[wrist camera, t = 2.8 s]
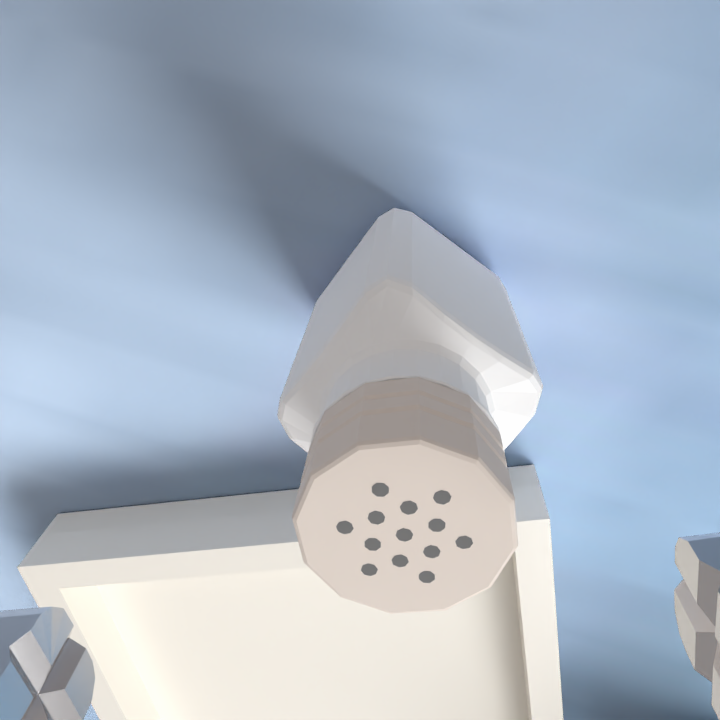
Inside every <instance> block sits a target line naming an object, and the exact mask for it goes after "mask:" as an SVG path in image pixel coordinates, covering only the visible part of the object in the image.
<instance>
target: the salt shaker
mask: <svg viewBox="0 0 720 720" xmlns="http://www.w3.org/2000/svg"><path fill="white" fill-rule="evenodd" d="M542 389H543V384H542V382H541V379H540V377H539V374H538V371H537V369H536V366H535V364H534V361H533V358H532V356H531V353H530V351H529V348H528V345H527V343H526V340H525V338H524V335H523V333H522V330H521V327H520V325H519V322H518V320H517V317H516V314H515V312H514V309H513V307H512V304H511V301H510V299H509V296H508V294H507V291H506V289H505V287H504V286H503V284H502V282H501V280H500V278H499V277H498V276H497V275H496V274H494V273H493V272H492V271H490V270H489V269H488V268H486V267H485V266H484V265H482V264H481V263H480V262H478V261H477V260H476V259H474V258H473V257H472V256H470V255H469V254H467V253H466V252H465V251H463V250H462V249H461V248H459V247H458V246H457V245H455V244H454V243H453V242H451V241H450V240H449V239H447V238H446V237H445V236H443V235H442V234H441V233H439V232H438V231H437V230H435V229H434V228H433V227H431V226H430V225H429V224H427V223H426V222H425V221H423V220H422V219H421V218H419V217H418V216H417V215H415V214H414V213H413V212H410V211H406V210H402V209H398V208H393V209H391V210H389V211H388V212H386V213H384V214H383V215H381V216H379V217H378V218H377V220H376V221H375V222H374V224H373V225H372V226H371V228H370V229H369V230H368V232H367V233H366V234H365V236H364V237H363V239H362V240H361V241H360V243H359V244H358V245H357V247H356V248H355V249H354V251H353V252H352V253H351V255H350V256H349V258H348V259H347V260H346V262H345V263H344V264H343V266H342V267H341V268H340V270H339V271H338V272H337V274H336V275H335V277H334V278H333V279H332V281H331V282H330V283H329V285H328V286H327V287H326V289H325V290H324V291H323V293H322V294H321V296H320V297H319V298H318V300H317V301H316V304H315V306H314V309H313V312H312V314H311V317H310V320H309V322H308V325H307V328H306V330H305V333H304V336H303V338H302V341H301V344H300V346H299V349H298V352H297V354H296V357H295V360H294V362H293V365H292V368H291V370H290V373H289V376H288V378H287V381H286V384H285V386H284V389H283V392H282V395H281V397H280V402H279V408H278V414H277V415H278V419H279V420H280V422H281V424H282V426H283V427H284V429H285V431H286V433H287V434H288V436H289V438H290V439H291V440H292V441H294V442H295V443H296V444H297V445H299V446H300V447H301V448H302V449H304V450H305V451H306V452H307V453H308V454H307V458H306V462H305V468H304V470H303V474H302V478H301V482H300V483H301V484H300V486H299V490H298V493H297V497H296V501H295V505H294V509H293V513H292V520H293V524H294V528H295V532H296V535H297V539H298V543H299V547H300V550H301V554H302V558H303V561H304V563H305V564H306V565H307V566H308V567H309V568H310V569H311V570H312V571H313V572H314V573H315V574H316V575H317V576H319V577H320V578H321V579H322V580H323V581H324V582H325V583H326V584H327V585H328V586H329V587H330V588H331V589H332V590H334V591H335V592H336V593H337V594H338V595H339V596H340V597H342V598H345V599H348V600H351V601H354V602H357V603H360V604H363V605H366V606H369V607H372V608H375V609H378V610H381V611H384V612H387V613H390V614H395V613H411V612H427V611H443V610H447V609H449V608H451V607H453V606H455V605H457V604H459V603H461V602H463V601H465V600H467V599H469V598H471V597H473V596H475V595H476V594H478V593H480V592H482V591H484V590H486V589H488V588H490V587H492V585H493V584H494V582H495V580H496V579H497V577H498V576H499V574H500V573H501V571H502V570H503V568H504V567H505V565H506V564H507V562H508V561H509V559H510V557H511V556H512V554H513V553H514V551H515V550H516V548H517V547H518V535H517V522H516V509H515V497H514V493H513V488H512V484H511V480H510V475H509V471H508V468H507V462H506V458H505V452H504V450H505V449H506V448H507V446H508V445H509V444H510V443H511V442H512V441H513V440H514V439H515V437H516V436H517V435H518V434H519V432H520V431H521V430H522V429H523V428H524V426H525V425H526V424H527V423H528V422H529V420H530V419H531V418H532V417H533V416H534V414H535V412H536V409H537V405H538V402H539V399H540V395H541V392H542Z"/></svg>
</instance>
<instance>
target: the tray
mask: <svg viewBox="0 0 720 720" xmlns="http://www.w3.org/2000/svg"><path fill="white" fill-rule="evenodd" d="M507 468H508V471H509V475H510V480H511V484H512V488H513V493H514V497H515V509H516V522H517V535H518V547H517V548H516V550H515V551H514V553H513V554H512V556H511V557H510V559H509V561H508V562H507V564H506V565H505V567H504V568H503V570H502V571H501V573H500V574H499V576H498V577H497V579H496V580H495V582H494V584H493V585H492V587H490V588H488V589H486V590H484V591H482V592H480V593H478V594H476V595H475V596H473V597H471V598H469V599H467V600H465V601H463V602H461V603H459V604H457V605H455V606H453V607H451V608H449V609H447V610H443V611H427V612H411V613H395V614H390V613H387V612H384V611H381V610H378V609H375V608H372V607H369V606H366V605H363V604H360V603H357V602H354V601H351V600H348V599H345V598H342V597H340V596H339V595H338V594H337V593H336V592H335V591H334V590H332V589H331V588H330V587H329V586H328V585H327V584H326V583H325V582H324V581H323V580H322V579H321V578H320V577H319V576H317V575H316V574H315V573H314V572H313V571H312V570H311V569H310V568H309V567H308V566H307V565H306V564H305V563H304V561H303V558H302V554H301V550H300V547H299V543H298V539H297V535H296V532H295V528H294V524H293V520H292V513H293V509H294V505H295V501H296V497H297V493H298V490H299V489H293V490H283V491H274V492H264V493H254V494H245V495H235V496H225V497H216V498H206V499H196V500H187V501H177V502H167V503H158V504H148V505H138V506H129V507H119V508H109V509H100V510H90V511H80V512H71V513H61V514H57V515H56V517H55V518H54V519H53V521H52V522H51V523H50V525H49V526H48V527H47V528H46V530H45V531H44V532H43V534H42V535H41V536H40V538H39V539H38V540H37V542H36V543H35V544H34V546H33V547H32V548H31V550H30V551H29V552H28V553H27V555H26V556H25V557H24V559H23V560H22V561H21V563H20V564H19V565H18V567H17V568H18V570H19V572H20V574H21V575H22V577H23V579H24V581H25V583H26V585H27V587H28V588H29V590H30V592H31V594H32V596H33V598H34V599H35V601H36V603H37V605H38V607H39V608H41V607H58V608H64V610H65V612H66V613H67V615H68V617H69V618H70V620H71V622H72V623H73V625H74V626H73V629H72V632H71V635H70V638H71V639H72V640H74V641H76V642H77V643H79V644H80V645H82V646H83V647H85V648H86V649H87V651H88V653H89V655H90V657H91V659H92V662H93V667H94V673H95V683H94V690H93V697H92V701H91V704H92V706H93V708H94V710H95V712H96V714H97V715H98V717H99V719H100V720H563V707H562V692H561V677H560V663H559V648H558V633H557V618H556V604H555V589H554V574H553V559H552V544H551V530H550V518H549V514H548V511H547V508H546V504H545V501H544V497H543V494H542V490H541V487H540V484H539V480H538V477H537V473H536V470H535V466H534V465H525V466H515V467H507Z"/></svg>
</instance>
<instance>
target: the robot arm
mask: <svg viewBox="0 0 720 720" xmlns="http://www.w3.org/2000/svg"><path fill="white" fill-rule="evenodd" d="M675 564H676V565H677V567H678V569H679V571H680V573H681V575H682V577H683V578H684V579H683V580H682V581H681V583H680V584H679V585H678V586H677V587H676V588H675V589H674V599H675V614H676V619H677V624H678V629H679V633H680V636H681V639H682V642H683V644H684V647H685V650H686V652H687V655H688V657H689V659H690V661H691V663H692V665H693V667H694V670H695V671H697V672H698V673H700V674H701V675H702V676H704V677H705V678H707V679H708V680H709V681H711V682H712V704H711V705H712V707H713V709H714V711H715V713H716V715H717V717H718V719H719V720H720V532H719V533H711V534H703V535H694V536H686V537H679V538H678V541H677V543H676V546H675ZM73 626H74V625H73V623H72V622H71V620H70V618H69V617H68V615H67V613H66V612H65V610H64V608H58V607H41V608H29V609H16V610H4V611H0V720H83V719H84V717H85V715H86V713H87V710H88V708H89V706H90V704H91V701H92V697H93V690H94V683H95V673H94V667H93V662H92V659H91V657H90V655H89V653H88V651H87V649H86V648H85V647H83V646H82V645H80V644H79V643H77V642H76V641H74V640H72V639H71V638H70V635H71V632H72V629H73Z"/></svg>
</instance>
